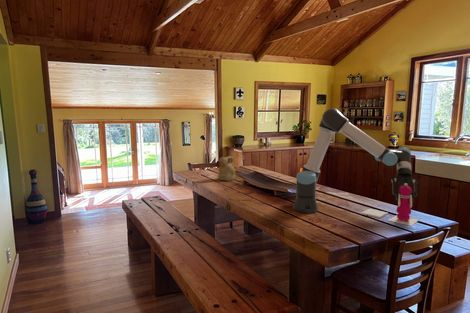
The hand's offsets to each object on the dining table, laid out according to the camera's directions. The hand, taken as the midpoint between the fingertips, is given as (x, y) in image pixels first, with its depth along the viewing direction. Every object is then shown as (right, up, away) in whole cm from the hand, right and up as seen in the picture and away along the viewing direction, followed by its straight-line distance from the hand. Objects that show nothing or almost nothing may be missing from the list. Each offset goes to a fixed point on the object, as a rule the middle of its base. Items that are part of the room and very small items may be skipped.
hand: (405, 205), depth 173 cm
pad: (-10, -7, +16) cm, 20 cm away
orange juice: (-40, -2, +61) cm, 73 cm away
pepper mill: (+1, -8, +5) cm, 9 cm away
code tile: (+2, -9, +5) cm, 10 cm away
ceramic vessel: (-99, +5, +119) cm, 155 cm away
